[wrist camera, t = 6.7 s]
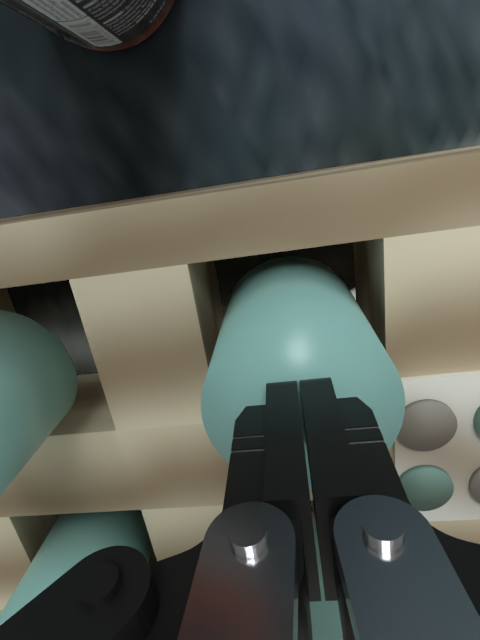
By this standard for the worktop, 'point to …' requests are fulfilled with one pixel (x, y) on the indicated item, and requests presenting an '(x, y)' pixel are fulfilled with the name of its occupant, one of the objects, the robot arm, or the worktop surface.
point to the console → (205, 323)
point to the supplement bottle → (96, 20)
